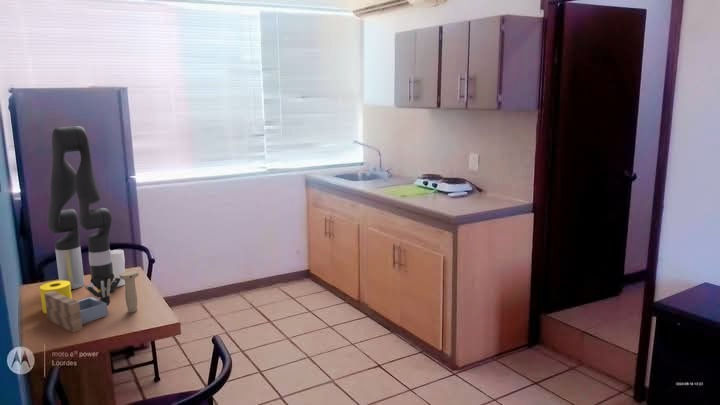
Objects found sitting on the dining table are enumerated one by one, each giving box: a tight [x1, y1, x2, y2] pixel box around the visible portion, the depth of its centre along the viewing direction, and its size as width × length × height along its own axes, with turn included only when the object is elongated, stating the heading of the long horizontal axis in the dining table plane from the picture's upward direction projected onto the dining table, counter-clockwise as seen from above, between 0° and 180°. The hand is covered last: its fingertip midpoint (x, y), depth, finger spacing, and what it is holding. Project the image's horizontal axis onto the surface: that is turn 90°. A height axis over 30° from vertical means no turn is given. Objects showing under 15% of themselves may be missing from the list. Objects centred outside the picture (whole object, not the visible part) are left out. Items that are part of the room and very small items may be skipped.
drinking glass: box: [110, 249, 126, 288], centre depth 222 cm, size 7×7×15 cm
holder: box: [76, 296, 109, 325], centre depth 191 cm, size 11×11×5 cm
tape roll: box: [39, 280, 73, 314], centre depth 198 cm, size 10×10×9 cm
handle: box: [120, 270, 139, 313], centre depth 195 cm, size 5×6×15 cm
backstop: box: [44, 291, 83, 334], centre depth 184 cm, size 19×3×10 cm, turn 54°
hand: (105, 305), depth 197 cm, fingers closed
